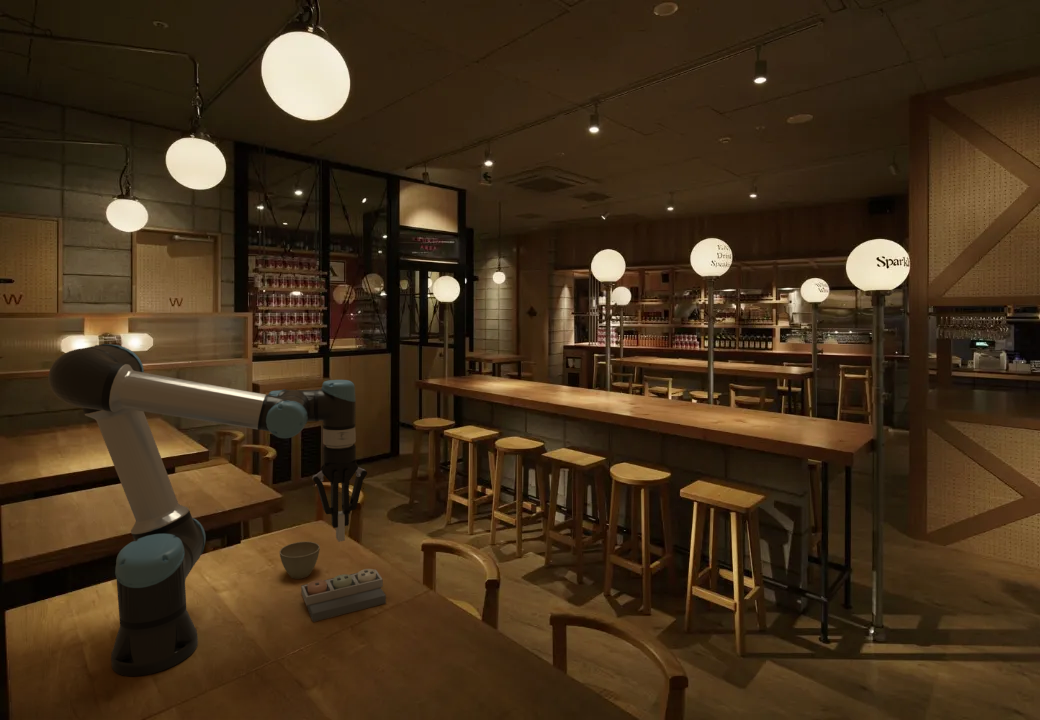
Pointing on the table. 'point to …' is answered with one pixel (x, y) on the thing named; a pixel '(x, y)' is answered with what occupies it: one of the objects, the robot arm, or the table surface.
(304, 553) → the grey bowl
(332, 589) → the panel
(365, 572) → the cream button
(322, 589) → the terracotta button
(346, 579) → the sage button
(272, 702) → the table surface
